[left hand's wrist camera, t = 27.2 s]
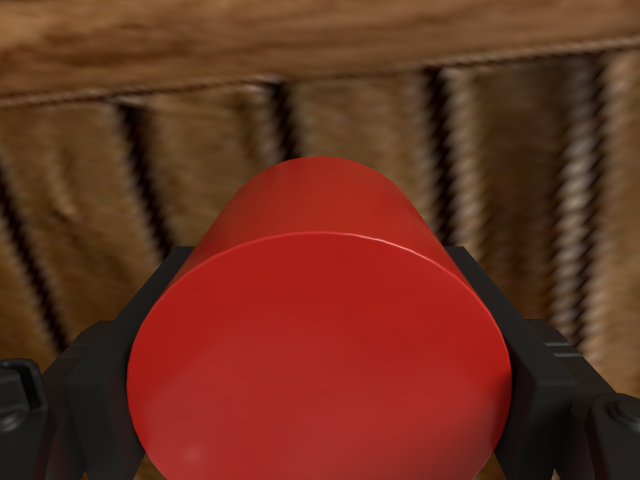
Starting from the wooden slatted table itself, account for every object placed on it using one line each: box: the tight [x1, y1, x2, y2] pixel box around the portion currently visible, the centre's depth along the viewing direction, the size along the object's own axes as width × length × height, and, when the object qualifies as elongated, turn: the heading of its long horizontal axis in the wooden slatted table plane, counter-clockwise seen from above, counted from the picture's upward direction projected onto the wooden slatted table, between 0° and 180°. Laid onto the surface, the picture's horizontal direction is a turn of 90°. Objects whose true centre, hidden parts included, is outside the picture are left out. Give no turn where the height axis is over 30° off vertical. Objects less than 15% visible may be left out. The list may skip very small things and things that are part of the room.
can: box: [126, 156, 512, 480], centre depth 12 cm, size 8×8×7 cm
